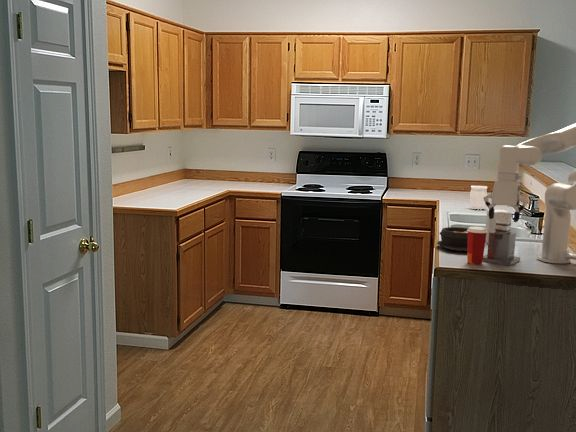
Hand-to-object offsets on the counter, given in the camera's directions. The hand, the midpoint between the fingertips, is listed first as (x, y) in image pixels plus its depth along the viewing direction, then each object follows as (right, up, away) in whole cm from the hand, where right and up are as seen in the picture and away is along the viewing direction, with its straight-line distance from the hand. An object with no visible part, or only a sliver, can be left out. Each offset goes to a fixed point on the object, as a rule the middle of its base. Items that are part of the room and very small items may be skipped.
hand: (503, 220), depth 249 cm
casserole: (-11, -13, +25) cm, 30 cm away
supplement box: (+11, -11, +42) cm, 44 cm away
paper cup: (-12, -17, -3) cm, 21 cm away
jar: (+36, +6, +155) cm, 159 cm away
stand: (0, -16, +3) cm, 17 cm away
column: (0, -15, +2) cm, 15 cm away
